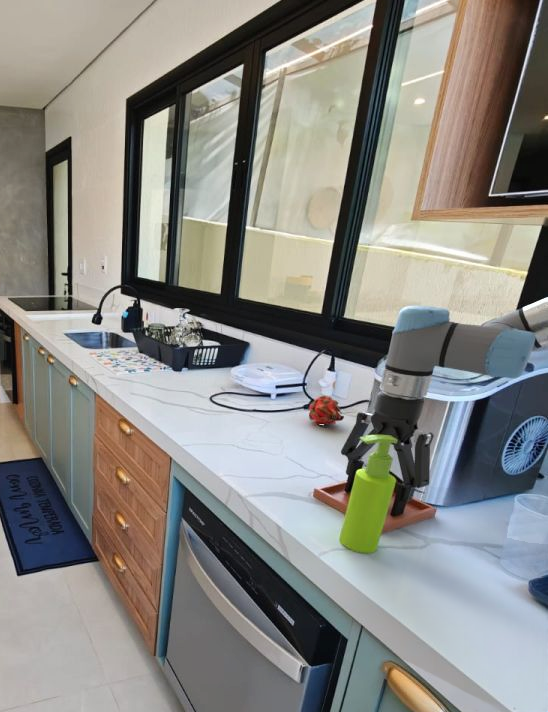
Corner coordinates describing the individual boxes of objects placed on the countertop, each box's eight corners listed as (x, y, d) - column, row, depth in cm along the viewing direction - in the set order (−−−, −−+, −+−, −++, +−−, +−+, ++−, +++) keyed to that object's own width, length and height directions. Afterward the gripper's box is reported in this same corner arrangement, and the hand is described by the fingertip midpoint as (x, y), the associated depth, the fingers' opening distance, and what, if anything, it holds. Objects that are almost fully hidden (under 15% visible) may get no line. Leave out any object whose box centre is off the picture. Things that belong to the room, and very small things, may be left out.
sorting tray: (434, 516, 97) (437, 508, 96) (381, 534, 90) (383, 525, 90) (363, 482, 110) (365, 475, 109) (312, 496, 103) (314, 488, 103)
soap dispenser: (327, 535, 90) (352, 430, 82) (363, 533, 90) (391, 429, 83) (345, 554, 84) (374, 443, 77) (384, 552, 85) (416, 443, 77)
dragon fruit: (315, 420, 152) (329, 440, 142) (296, 404, 150) (309, 424, 140) (338, 401, 149) (354, 420, 138) (319, 384, 146) (333, 402, 136)
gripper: (336, 380, 99) (314, 482, 107) (451, 415, 81) (414, 534, 89) (362, 377, 102) (338, 476, 111) (478, 410, 84) (440, 525, 92)
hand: (372, 502), depth 100 cm, fingers closed on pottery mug, 10 cm apart
